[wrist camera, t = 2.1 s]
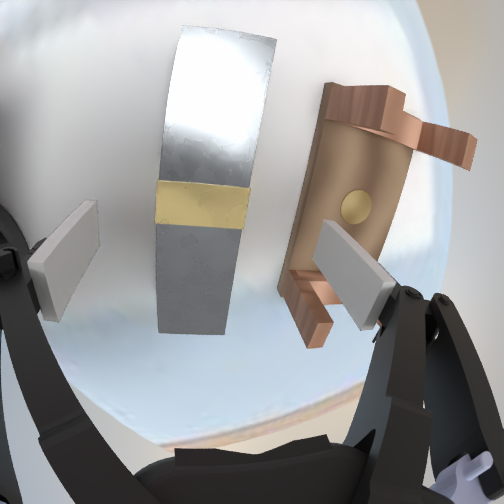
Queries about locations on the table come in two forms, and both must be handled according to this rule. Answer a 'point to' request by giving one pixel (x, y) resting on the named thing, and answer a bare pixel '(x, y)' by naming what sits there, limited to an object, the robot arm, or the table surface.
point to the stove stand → (355, 187)
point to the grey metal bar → (207, 173)
